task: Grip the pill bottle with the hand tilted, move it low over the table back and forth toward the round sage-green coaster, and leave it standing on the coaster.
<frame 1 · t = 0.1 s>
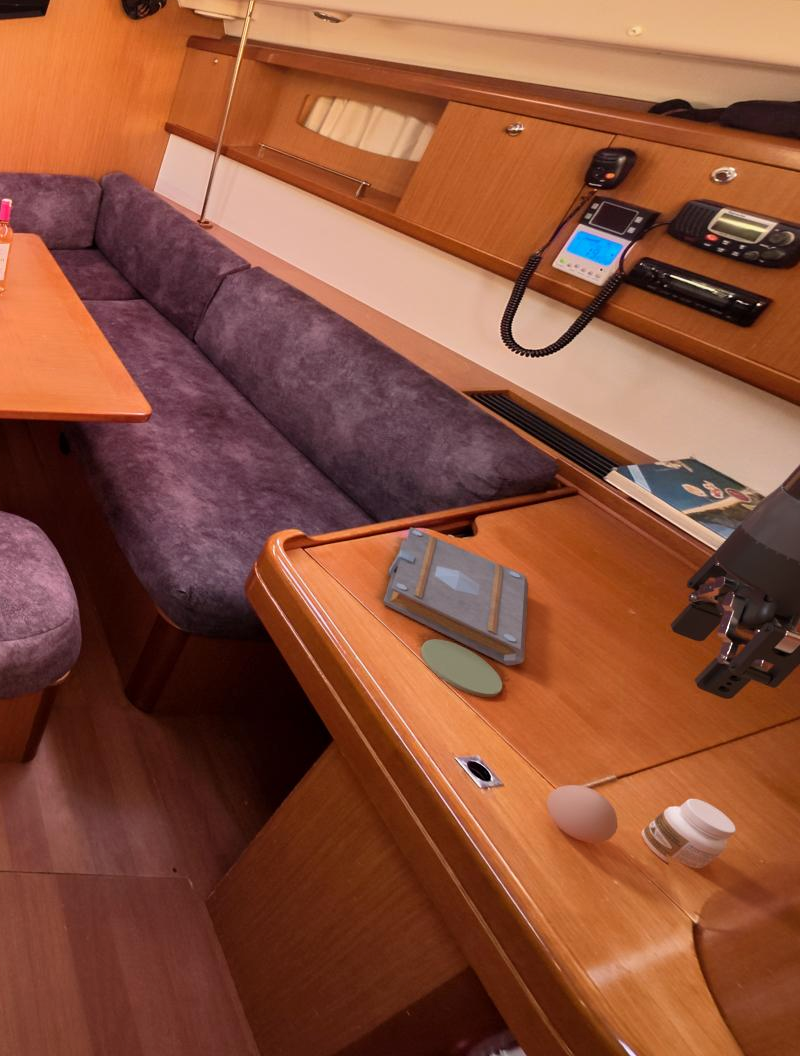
hand: (696, 661, 64), 28 cm above the table, tool pointing down, fingers open, 8 cm apart
coaster: (459, 668, 93), on the table
egg: (565, 829, 75), on the table
pill bottle: (667, 852, 73), on the table
book: (449, 600, 105), on the table
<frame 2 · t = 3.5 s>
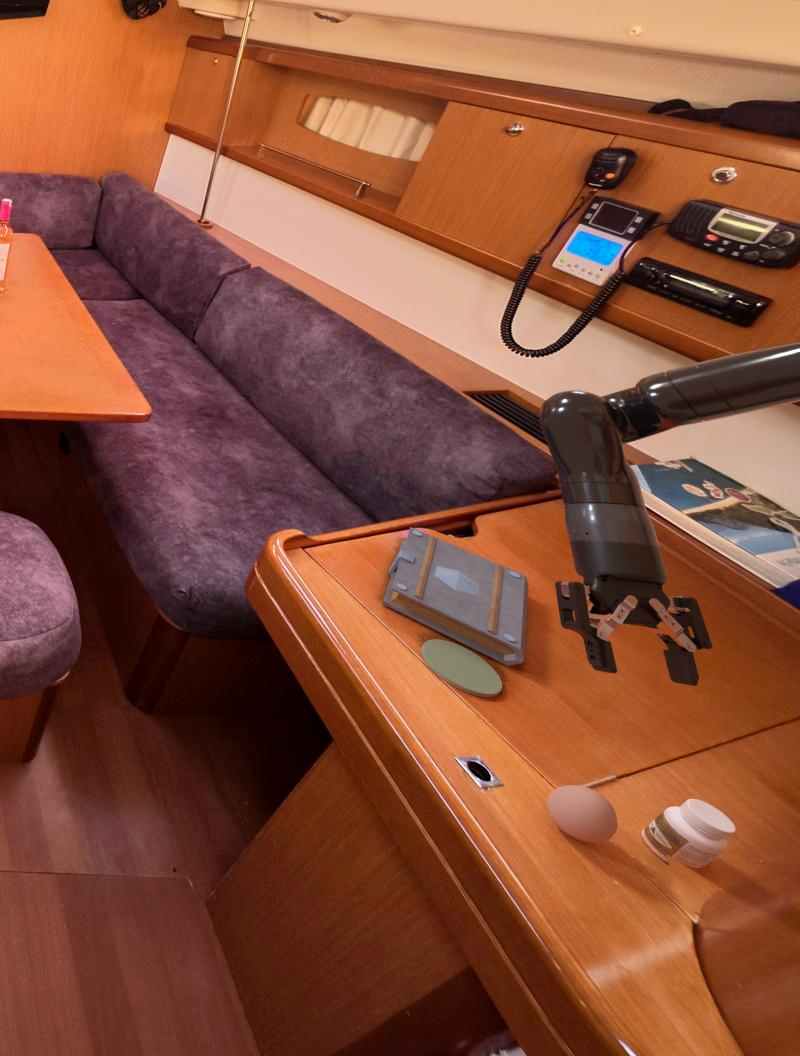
hand: (645, 678, 76), 15 cm above the table, tool tilted 45°, fingers open, 8 cm apart
nothing on the table moved.
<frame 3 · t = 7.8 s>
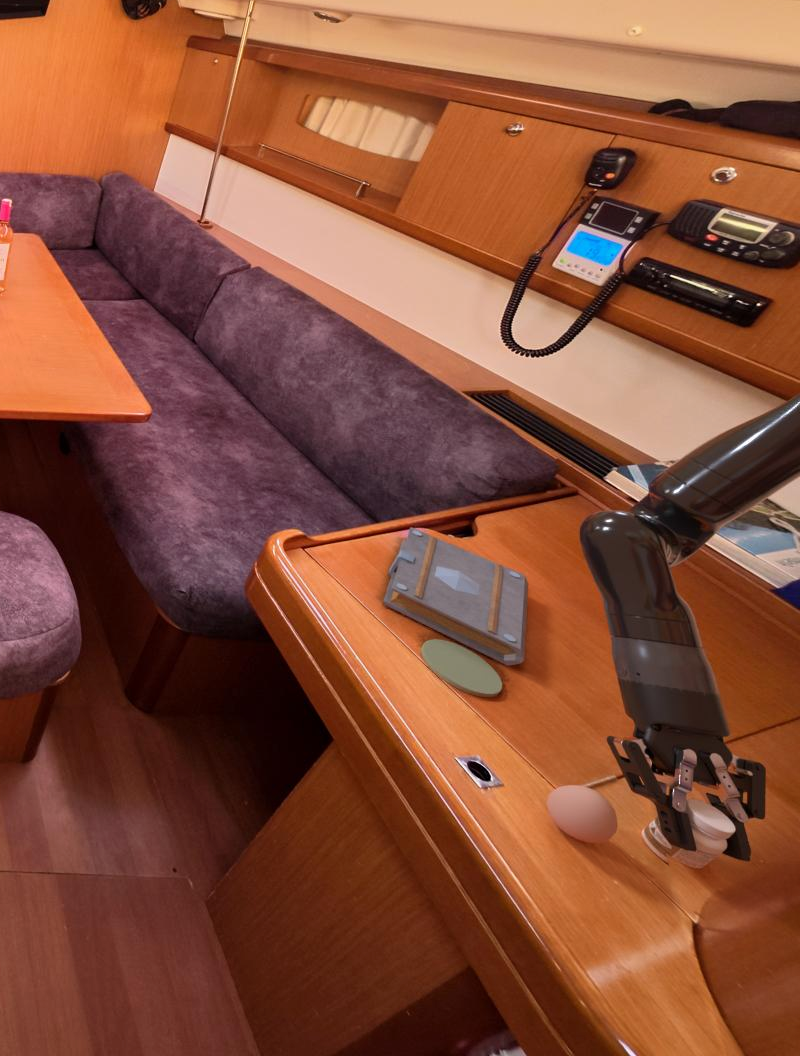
hand: (708, 852, 69), 4 cm above the table, tool tilted 45°, fingers closed on pill bottle, 4 cm apart
pill bottle: (667, 851, 73), on the table, touching gripper
everything else where it was.
when the fingers open (5 cm above the table, at t = 17.3 s): pill bottle stays where it is, point 1 cm above the table.
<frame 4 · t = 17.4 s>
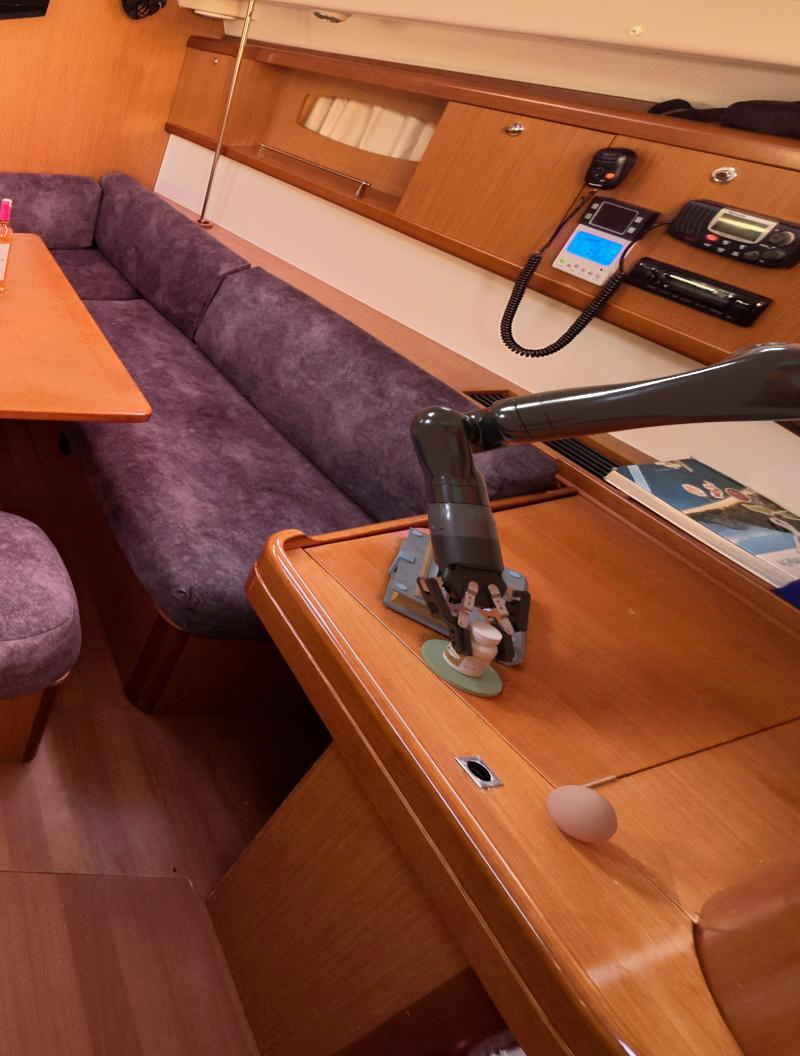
hand: (484, 657, 90), 5 cm above the table, tool tilted 45°, fingers open, 4 cm apart
pill bottle: (460, 665, 93), point 1 cm above the table
everything else where it was.
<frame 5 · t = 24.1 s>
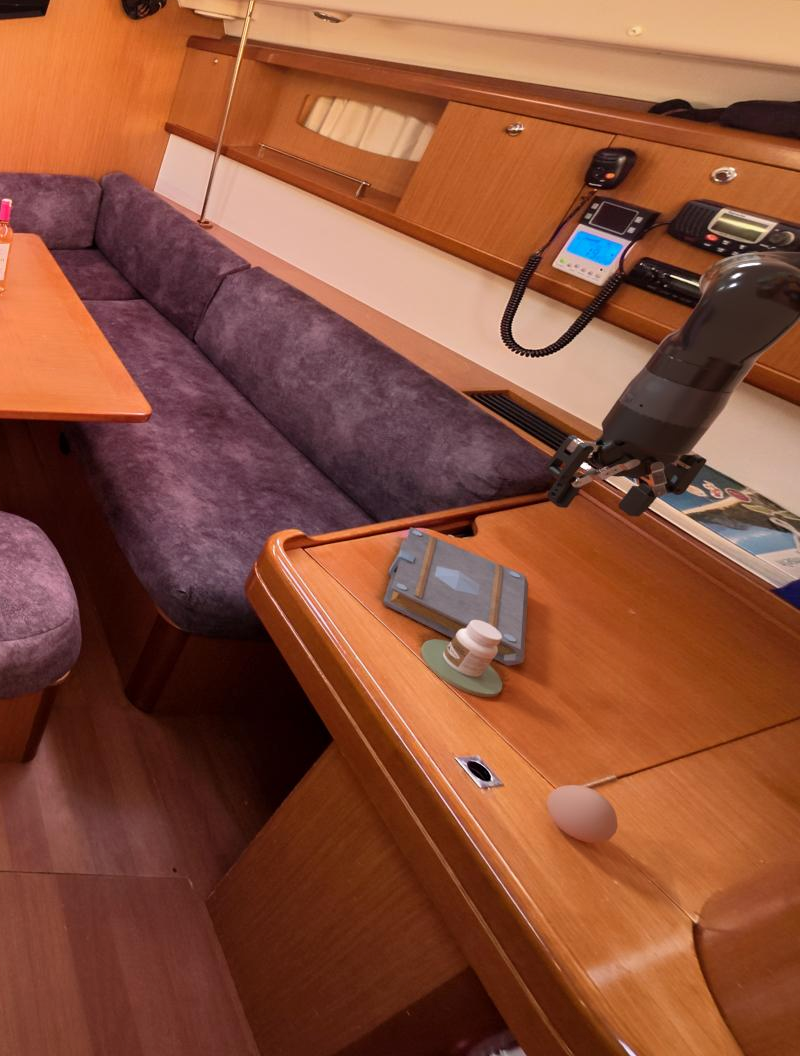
hand: (591, 508, 85), 28 cm above the table, tool pointing down, fingers open, 8 cm apart
pill bottle: (460, 665, 93), point 1 cm above the table, touching coaster
everything else where it was.
at the end: pill bottle 0.2 cm off-centre on the coaster, point 0.6 cm above the coaster's base; pill bottle tilted 0°; the gripper is holding nothing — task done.
